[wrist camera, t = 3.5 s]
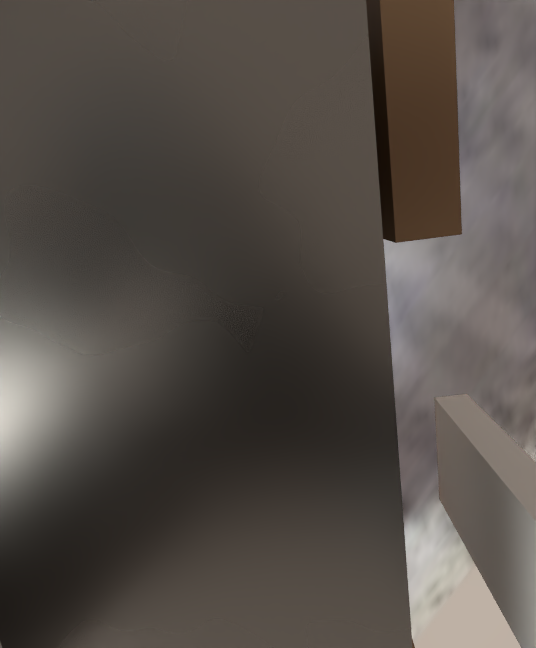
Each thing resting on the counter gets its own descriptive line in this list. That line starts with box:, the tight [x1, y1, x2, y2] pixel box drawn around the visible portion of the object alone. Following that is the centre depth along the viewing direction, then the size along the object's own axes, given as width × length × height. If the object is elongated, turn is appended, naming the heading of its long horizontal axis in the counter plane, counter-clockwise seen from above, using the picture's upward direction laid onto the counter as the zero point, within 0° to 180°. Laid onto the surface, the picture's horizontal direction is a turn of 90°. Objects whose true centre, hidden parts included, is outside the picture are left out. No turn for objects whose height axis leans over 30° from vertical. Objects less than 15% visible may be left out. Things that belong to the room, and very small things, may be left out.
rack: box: [366, 0, 462, 648], centre depth 13 cm, size 17×7×12 cm, turn 7°
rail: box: [0, 0, 412, 648], centre depth 8 cm, size 20×4×5 cm, turn 7°
